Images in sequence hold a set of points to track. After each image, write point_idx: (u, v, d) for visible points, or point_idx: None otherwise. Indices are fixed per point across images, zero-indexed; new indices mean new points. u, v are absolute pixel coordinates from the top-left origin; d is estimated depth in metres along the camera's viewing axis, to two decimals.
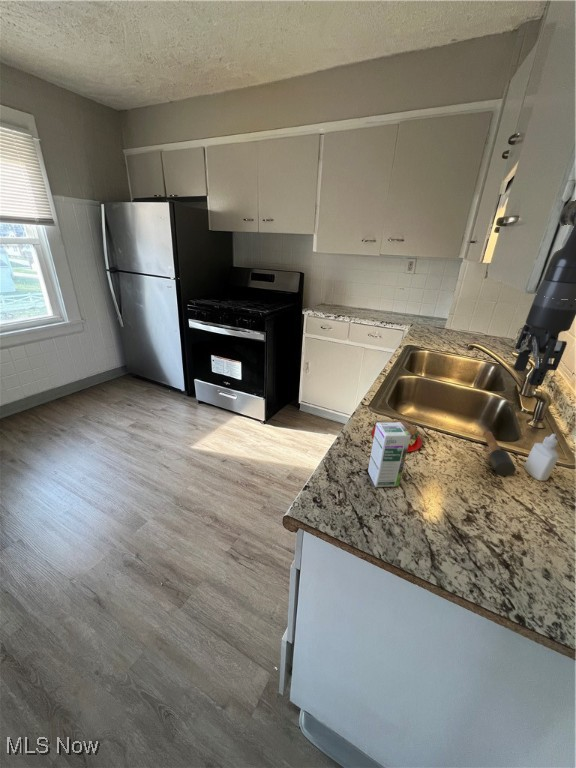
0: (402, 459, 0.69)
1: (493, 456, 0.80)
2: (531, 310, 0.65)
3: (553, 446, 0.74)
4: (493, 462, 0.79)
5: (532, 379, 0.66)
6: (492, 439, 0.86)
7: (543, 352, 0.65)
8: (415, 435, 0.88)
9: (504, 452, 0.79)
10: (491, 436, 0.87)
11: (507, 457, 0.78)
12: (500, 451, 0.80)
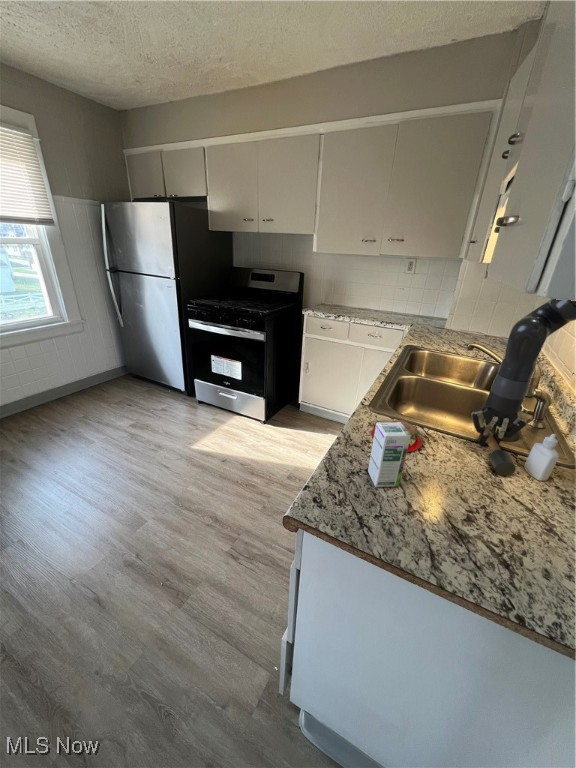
0: (402, 459, 0.69)
1: (493, 456, 0.80)
2: None
3: (553, 446, 0.74)
4: (493, 462, 0.79)
5: None
6: (492, 439, 0.86)
7: (486, 421, 0.86)
8: (415, 435, 0.88)
9: (504, 452, 0.79)
10: (491, 436, 0.87)
11: (507, 457, 0.78)
12: (500, 451, 0.80)
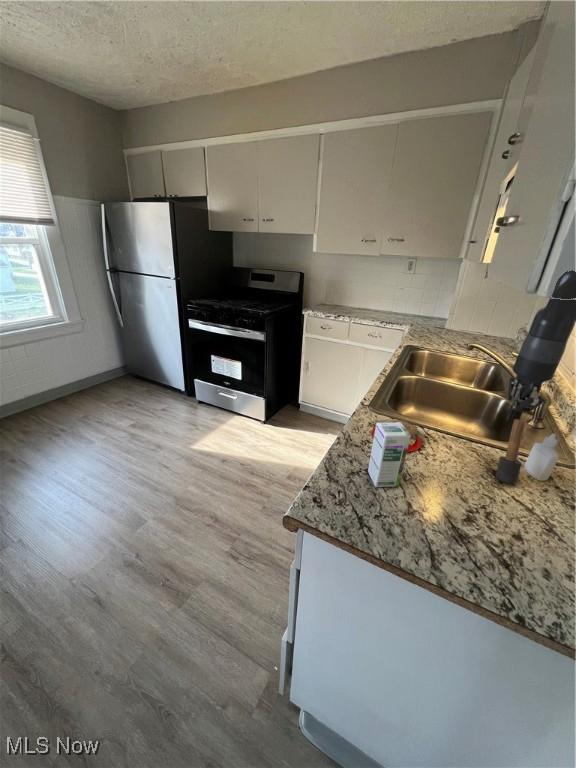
0: (402, 459, 0.69)
1: (501, 466, 0.75)
2: (517, 360, 0.71)
3: (553, 446, 0.74)
4: (497, 471, 0.76)
5: (510, 418, 0.76)
6: (517, 437, 0.73)
7: (528, 398, 0.72)
8: (415, 435, 0.88)
9: (515, 467, 0.73)
10: (519, 431, 0.73)
11: (514, 475, 0.73)
12: (511, 466, 0.73)
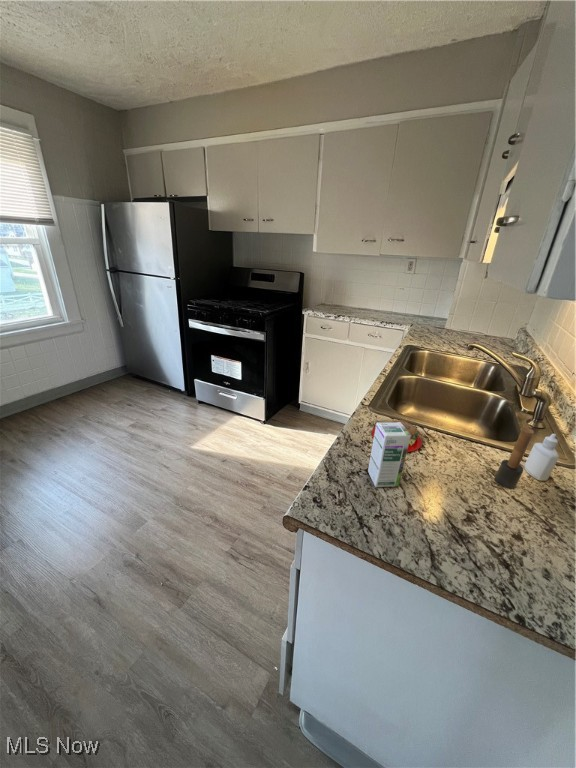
0: (402, 459, 0.69)
1: (501, 472, 0.74)
2: None
3: (553, 446, 0.74)
4: (497, 474, 0.76)
5: None
6: (522, 447, 0.70)
7: None
8: (415, 435, 0.88)
9: (516, 475, 0.72)
10: (525, 442, 0.70)
11: (513, 481, 0.73)
12: (512, 474, 0.72)
